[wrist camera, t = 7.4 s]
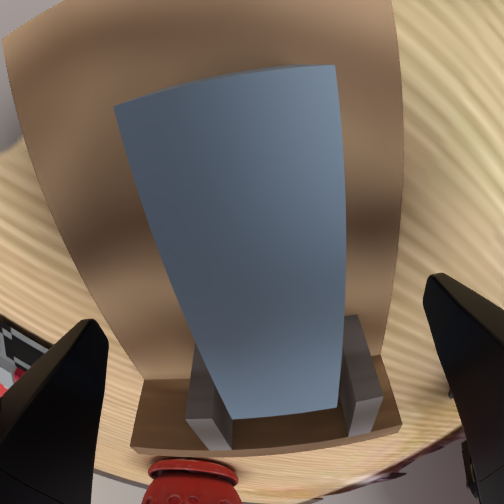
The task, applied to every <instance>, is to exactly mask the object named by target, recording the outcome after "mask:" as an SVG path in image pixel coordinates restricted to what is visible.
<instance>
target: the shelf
mask: <svg viewBox="0 0 504 504" xmlns="http://www.w3.org/2000/svg"><path fill="white" fill-rule="evenodd" d="M2 43H3V49H4V55H5V61H6V67H7V72H8V77H9V82H10V86H11V91H12V95H13V99H14V103H15V107H16V111H17V115H18V119H19V122H20V126H21V129H22V133H23V136H24V139H25V143H26V146H27V149H28V152H29V155H30V158H31V161H32V164H33V167H34V170H35V172H36V175H37V178H38V181H39V183H40V186H41V189H42V191H43V194H44V196H45V199H46V201H47V204H48V206H49V209H50V211H51V213H52V216H53V218H54V220H55V223H56V225H57V227H58V230H59V232H60V234H61V236H62V238H63V241H64V243H65V245H66V247H67V249H68V251H69V253H70V255H71V257H72V259H73V261H74V263H75V265H76V267H77V269H78V271H79V273H80V275H81V277H82V279H83V281H84V283H85V285H86V286H87V288H88V290H89V292H90V294H91V296H92V297H93V299H94V301H95V303H96V304H97V306H98V308H99V310H100V311H101V313H102V315H103V316H104V318H105V320H106V322H107V323H108V325H109V326H110V328H111V330H112V331H113V333H114V335H115V336H116V338H117V339H118V341H119V343H120V344H121V346H122V347H123V349H124V350H125V352H126V353H127V355H128V356H129V358H130V359H131V361H132V362H133V364H134V365H135V367H136V368H137V370H138V371H139V373H140V374H141V375H142V377H143V378H144V383H143V388H142V392H141V396H140V401H139V405H138V410H137V414H136V419H135V423H134V428H133V433H132V438H131V443H130V447H131V448H132V449H134V450H135V451H136V452H137V453H138V454H146V455H158V456H174V457H247V456H263V455H276V454H286V453H295V452H303V451H310V450H317V449H324V448H330V447H336V446H341V445H347V444H352V443H357V442H361V441H366V440H370V439H375V438H379V437H383V436H387V435H391V434H394V433H398V431H399V429H400V428H401V426H402V421H401V418H400V414H399V411H398V408H397V404H396V401H395V398H394V395H393V392H392V388H391V385H390V382H389V379H388V376H387V373H386V370H385V367H384V364H383V361H382V358H381V355H380V353H381V348H382V344H383V339H384V334H385V329H386V324H387V318H388V313H389V307H390V301H391V295H392V288H393V282H394V274H395V267H396V259H397V250H398V241H399V230H400V219H401V205H402V187H403V103H402V85H401V72H400V61H399V51H398V43H397V35H396V27H395V21H394V14H393V8H392V2H391V0H65V1H63V2H61V3H59V4H57V5H55V6H54V7H52V8H50V9H48V10H47V11H45V12H43V13H42V14H40V15H38V16H36V17H35V18H33V19H31V20H30V21H28V22H27V23H25V24H24V25H22V26H21V27H19V28H18V29H16V30H15V31H13V32H12V33H10V34H9V35H7V36H6V37H5V38H3V39H2ZM295 64H322V65H335V69H336V77H337V86H338V95H339V105H340V116H341V127H342V141H343V156H344V175H345V201H346V286H345V312H344V331H343V346H342V359H341V371H340V382H339V392H338V401H337V407H336V408H330V409H324V410H317V411H311V412H304V413H296V414H288V415H279V416H270V417H259V418H246V419H232V418H231V416H230V414H229V412H228V410H227V408H226V406H225V404H224V402H223V400H222V398H221V396H220V394H219V392H218V390H217V388H216V386H215V384H214V382H213V380H212V378H211V375H210V373H209V371H208V369H207V367H206V365H205V362H204V360H203V358H202V356H201V354H200V351H199V349H198V347H197V345H196V342H195V340H194V338H193V336H192V333H191V331H190V329H189V326H188V324H187V322H186V319H185V317H184V315H183V312H182V310H181V307H180V305H179V302H178V300H177V298H176V295H175V293H174V290H173V288H172V285H171V283H170V280H169V277H168V275H167V272H166V270H165V267H164V264H163V262H162V259H161V256H160V254H159V251H158V248H157V246H156V243H155V240H154V237H153V235H152V232H151V229H150V226H149V223H148V220H147V217H146V215H145V212H144V209H143V206H142V203H141V200H140V197H139V194H138V190H137V187H136V184H135V181H134V178H133V175H132V171H131V168H130V165H129V162H128V158H127V155H126V151H125V148H124V145H123V141H122V138H121V134H120V130H119V127H118V123H117V119H116V116H115V112H114V108H113V106H115V105H118V104H121V103H123V102H126V101H129V100H131V99H134V98H137V97H140V96H143V95H145V94H148V93H151V92H154V91H157V90H160V89H164V88H167V87H170V86H173V85H177V84H181V83H185V82H189V81H194V80H198V79H203V78H208V77H212V76H217V75H223V74H228V73H234V72H240V71H246V70H252V69H259V68H267V67H275V66H283V65H295Z"/></svg>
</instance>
